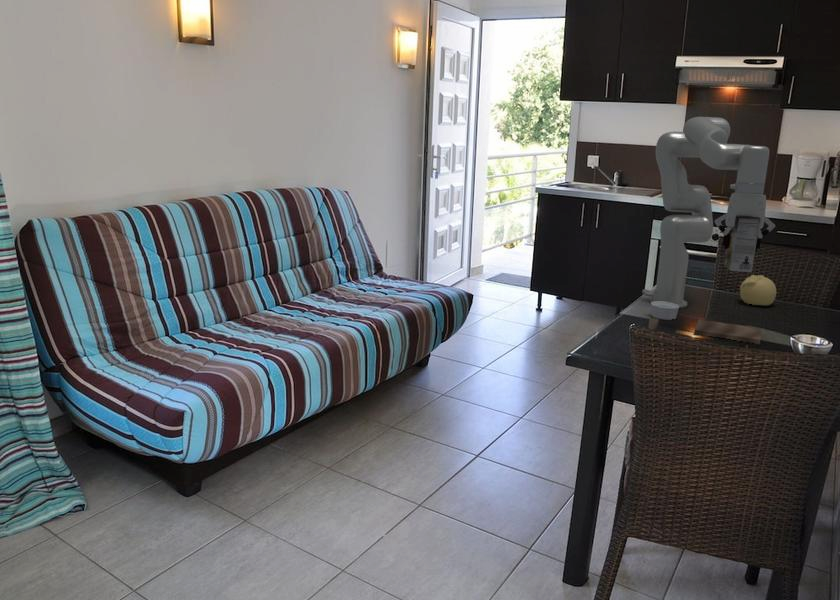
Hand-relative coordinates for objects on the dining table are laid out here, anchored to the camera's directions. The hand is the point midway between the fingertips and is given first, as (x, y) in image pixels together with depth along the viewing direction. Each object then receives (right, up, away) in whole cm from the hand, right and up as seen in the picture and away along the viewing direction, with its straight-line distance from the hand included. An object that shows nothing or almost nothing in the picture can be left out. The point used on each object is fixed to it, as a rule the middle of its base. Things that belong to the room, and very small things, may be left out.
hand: (740, 249), depth 205 cm
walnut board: (-1, -25, +6) cm, 26 cm away
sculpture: (+27, -17, +46) cm, 56 cm away
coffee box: (0, -6, +1) cm, 6 cm away
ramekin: (-15, -21, +24) cm, 35 cm away
